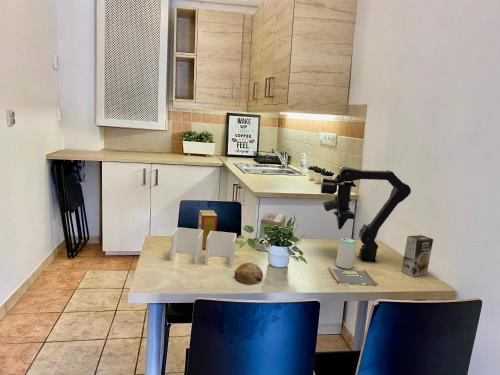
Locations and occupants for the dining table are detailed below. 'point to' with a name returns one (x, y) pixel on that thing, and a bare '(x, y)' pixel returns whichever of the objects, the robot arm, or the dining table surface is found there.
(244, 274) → the bread roll
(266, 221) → the tea box
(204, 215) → the baking soda box
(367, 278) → the mat
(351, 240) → the can
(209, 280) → the dining table surface
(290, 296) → the dining table surface
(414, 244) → the coffee box
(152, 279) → the dining table surface
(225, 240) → the zigzag folding screen
